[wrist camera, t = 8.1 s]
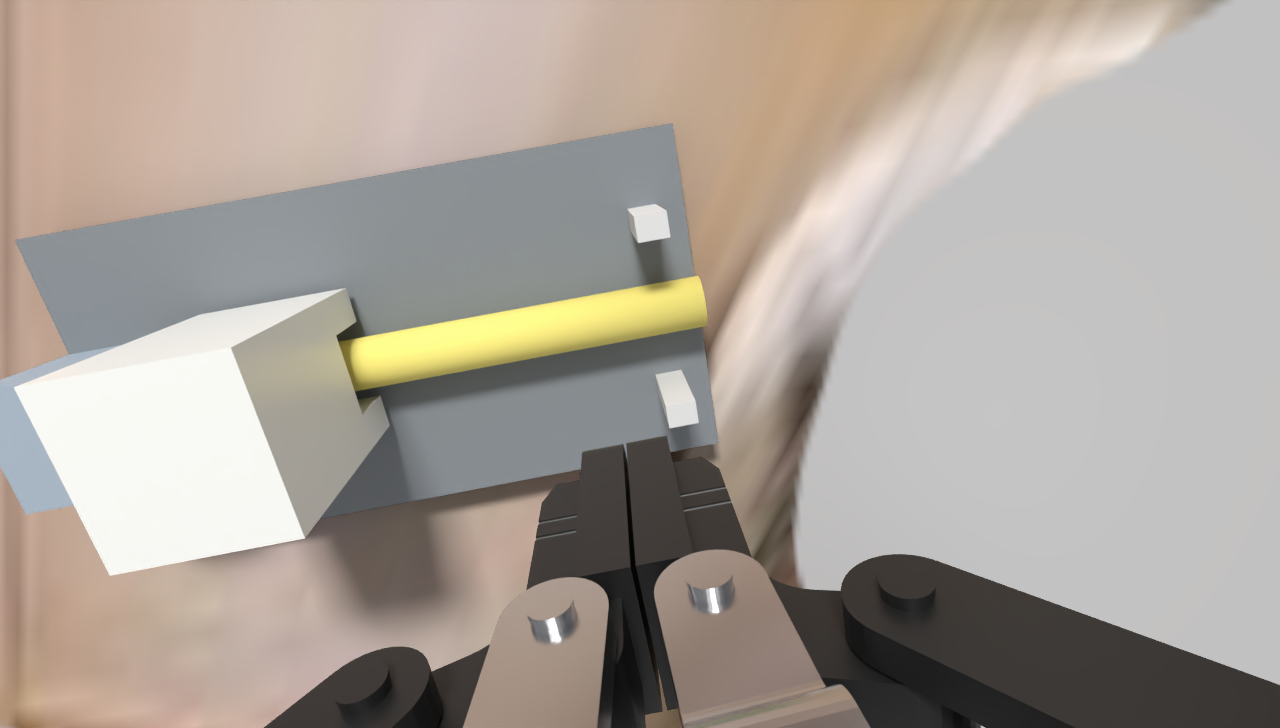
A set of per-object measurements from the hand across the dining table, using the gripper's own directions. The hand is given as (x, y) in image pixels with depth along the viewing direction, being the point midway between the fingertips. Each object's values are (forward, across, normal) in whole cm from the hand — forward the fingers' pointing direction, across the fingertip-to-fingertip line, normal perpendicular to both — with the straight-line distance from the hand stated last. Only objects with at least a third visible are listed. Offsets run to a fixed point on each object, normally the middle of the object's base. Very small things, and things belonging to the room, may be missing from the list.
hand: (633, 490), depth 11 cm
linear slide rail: (+14, +8, 0) cm, 16 cm away
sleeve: (+12, +11, 0) cm, 17 cm away
